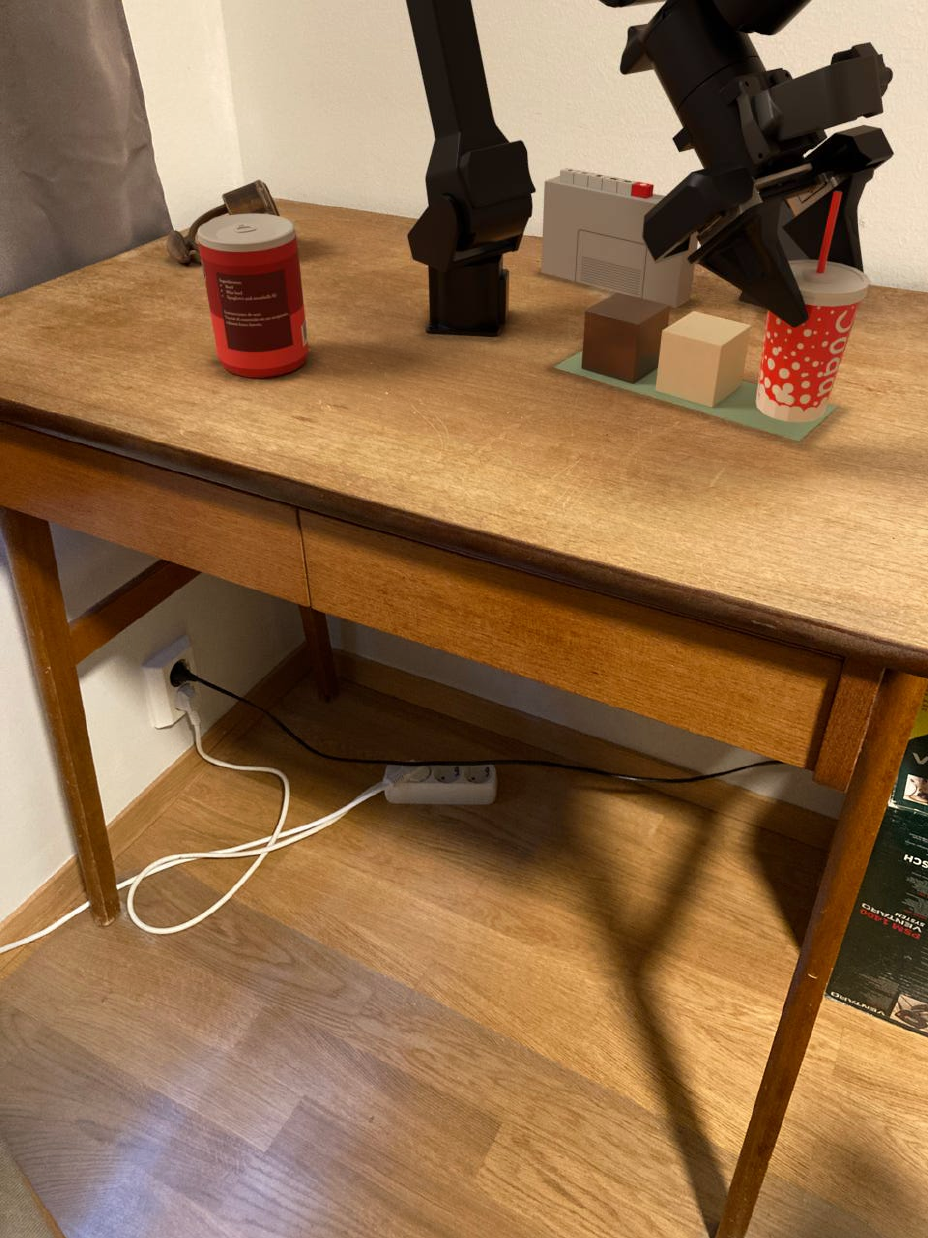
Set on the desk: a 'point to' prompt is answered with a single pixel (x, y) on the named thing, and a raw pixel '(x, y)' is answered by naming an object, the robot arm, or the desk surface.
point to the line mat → (731, 408)
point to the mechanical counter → (235, 202)
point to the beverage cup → (810, 336)
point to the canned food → (254, 293)
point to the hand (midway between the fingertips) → (831, 311)
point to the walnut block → (623, 337)
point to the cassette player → (608, 238)
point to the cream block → (702, 358)
